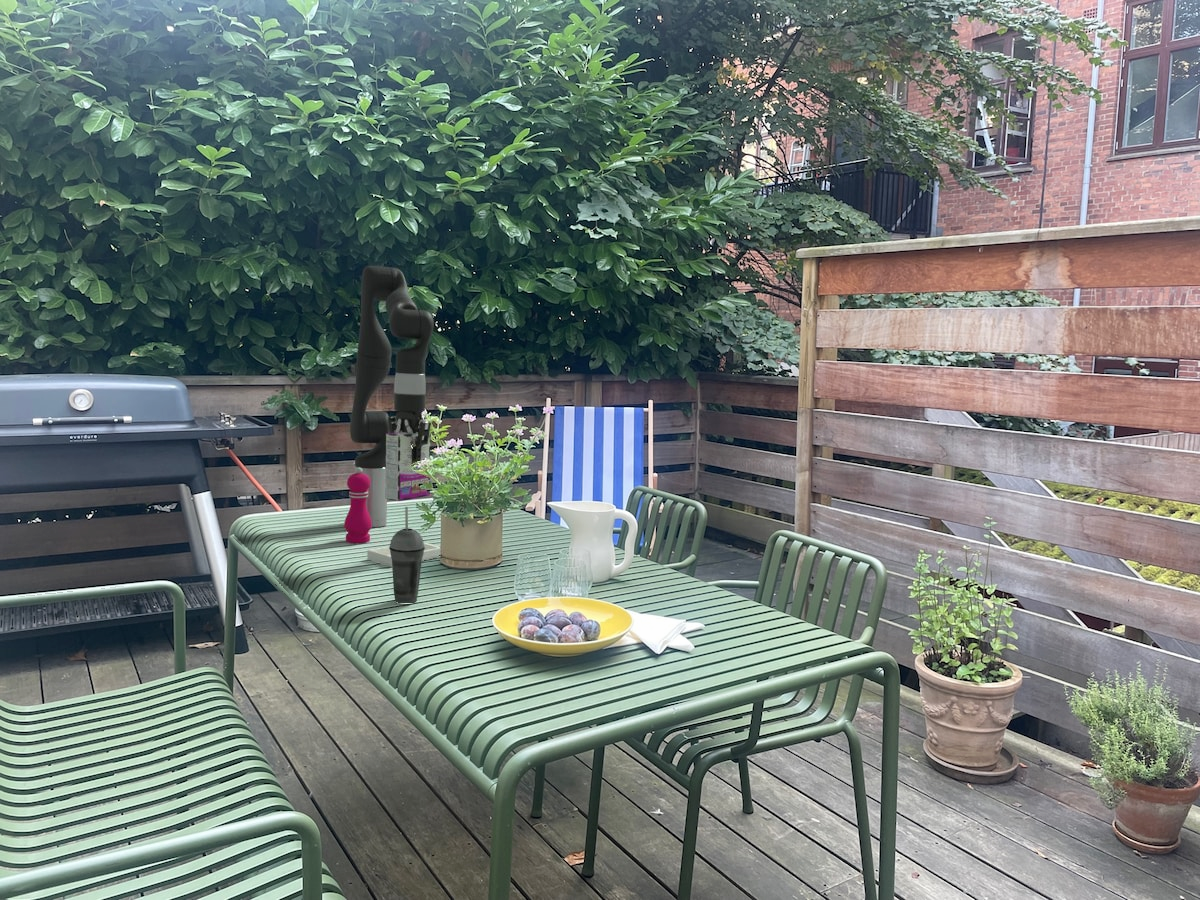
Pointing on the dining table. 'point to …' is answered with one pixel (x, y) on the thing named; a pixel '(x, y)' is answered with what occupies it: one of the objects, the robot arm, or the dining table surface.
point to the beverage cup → (406, 563)
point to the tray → (385, 558)
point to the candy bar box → (403, 468)
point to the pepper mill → (358, 509)
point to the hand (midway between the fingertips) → (408, 459)
